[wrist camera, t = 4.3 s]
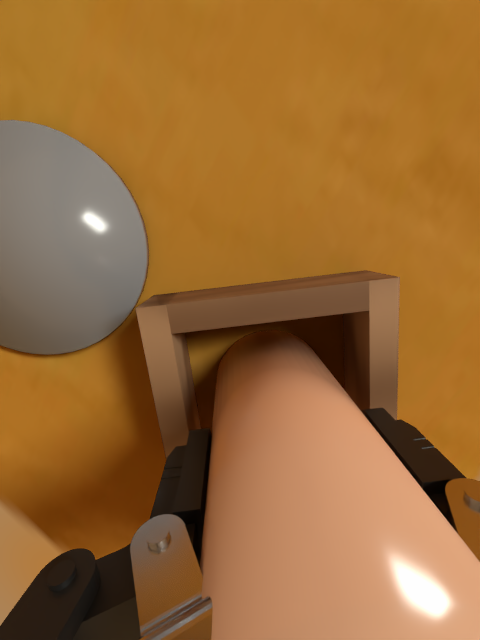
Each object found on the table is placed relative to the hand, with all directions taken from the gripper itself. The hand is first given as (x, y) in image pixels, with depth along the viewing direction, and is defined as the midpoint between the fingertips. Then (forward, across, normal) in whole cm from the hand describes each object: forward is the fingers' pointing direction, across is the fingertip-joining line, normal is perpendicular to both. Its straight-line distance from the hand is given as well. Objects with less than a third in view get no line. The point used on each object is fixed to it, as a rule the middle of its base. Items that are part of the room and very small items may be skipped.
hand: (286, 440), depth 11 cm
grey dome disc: (+5, +10, -8) cm, 14 cm away
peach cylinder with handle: (+5, 0, +1) cm, 5 cm away
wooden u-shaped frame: (+5, 0, 0) cm, 5 cm away
